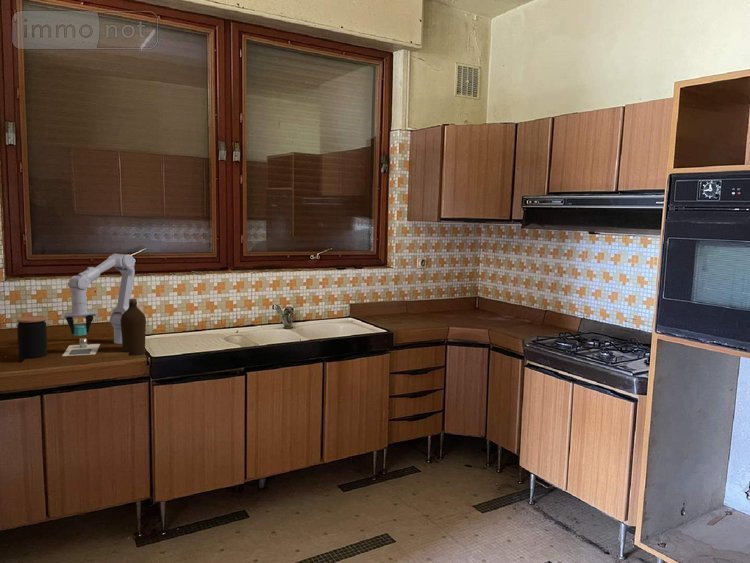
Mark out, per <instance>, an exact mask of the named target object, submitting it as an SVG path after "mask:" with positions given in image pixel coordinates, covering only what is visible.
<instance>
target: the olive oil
mask: <svg viewBox="0 0 750 563" xmlns="http://www.w3.org/2000/svg"><path fill="white" fill-rule="evenodd" d="M137 301H138V299H137V298H131V299H129V308H128V309H127V310H126V311H125V312H124V313H122V314H123V315H122V317H121V333H122V344H121V346H122V352H124V353H128V356H139V355H143V354H145V353H146V332H147V331H146V330H147V329H146V328H147V318H146V315H145V314H144V312H143V311H141V309H139V308H138V302H137Z"/></svg>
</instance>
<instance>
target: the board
mask: <svg viewBox="0 0 750 563" xmlns="http://www.w3.org/2000/svg"><path fill="white" fill-rule="evenodd" d="M100 345H101V343H92V344H91V343H90V344H88V343H87V347H86V348H80V344H71V345H70V344H69V345H68V347H67V348H66V350H65V351H64V353H63V354H62V357H67V356H70V357H71V356H73V357H75V356H87V355H88V356H89V355H91V356H92V355H96V354H97V352H98V350H99V348H100ZM78 349H92V350H91V352H90V354H76V355H69V353H70V352H71V350H78Z"/></svg>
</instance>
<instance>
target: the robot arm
mask: <svg viewBox="0 0 750 563" xmlns="http://www.w3.org/2000/svg"><path fill="white" fill-rule="evenodd" d="M135 265H136V260H135V258H134V257H133V256H132V255H131V254H121V253H113V254H111V255H109V256H108V258H107V259H106V260H104V261H103V262H101V263H100V264H98V265H96V267H94V266H89V267H87V268H86V270H84V271H83V272H79V273H78V274H77V275H73V276H71V277H70V278H69V280H68V282H67V284H68V287H69V289H70V292H71V312H66V313H60V319H62V320H64V319H65V320H66V322H67V324H68V326H69V329H70V334H72V335H73V334H74V328H73V326H74V322H75V320H74V318H85V325H86V327H87V334H89V332H90V327H91V324H92V323H93V320H94V317H99V311H98V310H94V311H87V308H88V307H87V289H88V287H89V286H90V284H91V283H93V282H94V281H96V280H98V279H99V278H100V275H101V274H102V273H105V272H106V271H108V270H110V269H111V268H113V267H114V268H115V269H116V270H117V271H119V272H120V274H121V278H120V279H121V280H120V285H119V286H120V287H119V290H118V298H117V299H118V300H117V304H116V307H115V308H114V309H112V311H111V312H112V313H111V314H110V316H109V323H110V324H111V326H112V327H113V343H114V344H117V345H122V333H121V317H122V315H123V313H124V312H125V311H126V310H127V309H128V308H129V299H132V295H133V294H132V293H133V286H134V279H135V272H136V270H135Z"/></svg>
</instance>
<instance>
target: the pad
mask: <svg viewBox="0 0 750 563" xmlns="http://www.w3.org/2000/svg"><path fill="white" fill-rule="evenodd" d="M91 350H92V349H78V350H71V352H70V353H69V355H74V356H77V355H76V354H90V352H91Z"/></svg>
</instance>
